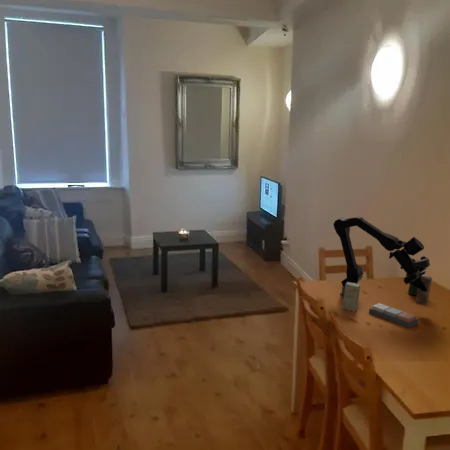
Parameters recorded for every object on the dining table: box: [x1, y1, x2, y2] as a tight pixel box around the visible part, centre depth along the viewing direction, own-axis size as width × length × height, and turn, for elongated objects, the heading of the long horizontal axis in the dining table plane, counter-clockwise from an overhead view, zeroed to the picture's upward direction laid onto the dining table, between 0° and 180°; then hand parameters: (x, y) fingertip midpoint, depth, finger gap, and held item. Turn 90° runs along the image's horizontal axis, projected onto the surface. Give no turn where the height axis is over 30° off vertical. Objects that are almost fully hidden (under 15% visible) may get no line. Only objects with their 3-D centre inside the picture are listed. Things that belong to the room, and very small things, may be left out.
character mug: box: [407, 269, 426, 296], centre depth 245 cm, size 11×7×13 cm, turn 158°
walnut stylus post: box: [415, 274, 433, 307], centre depth 218 cm, size 4×4×13 cm
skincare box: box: [341, 282, 361, 313], centre depth 221 cm, size 6×4×12 cm
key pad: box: [368, 302, 419, 329], centre depth 214 cm, size 20×7×4 cm, turn 41°
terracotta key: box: [397, 311, 417, 323], centre depth 210 cm, size 6×6×2 cm
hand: (427, 289), depth 217 cm, fingers closed on walnut stylus post, 4 cm apart
